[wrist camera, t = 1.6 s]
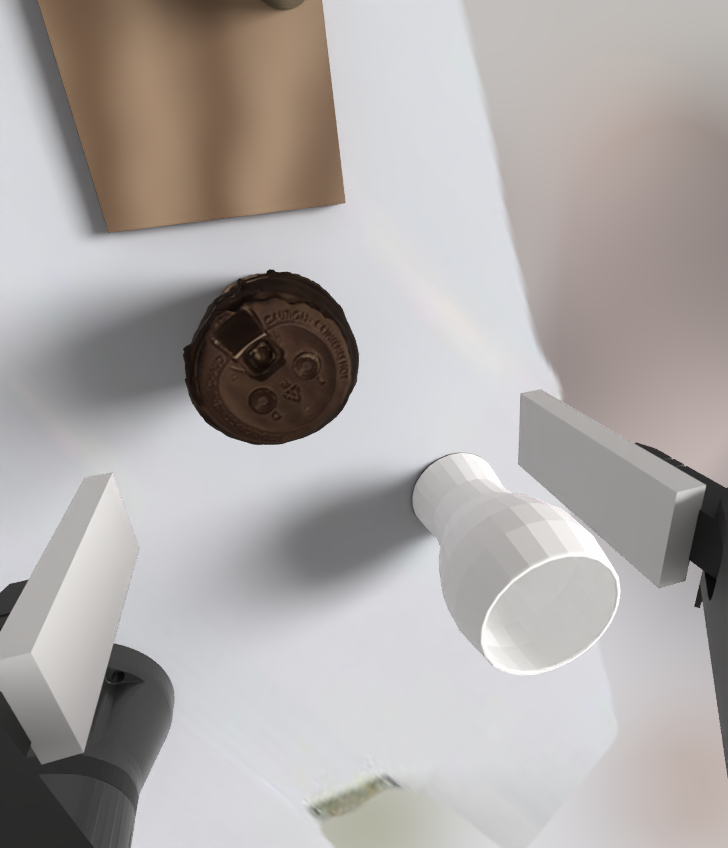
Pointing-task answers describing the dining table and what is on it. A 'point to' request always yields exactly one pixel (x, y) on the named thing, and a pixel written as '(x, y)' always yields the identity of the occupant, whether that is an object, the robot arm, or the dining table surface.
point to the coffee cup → (271, 359)
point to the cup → (514, 568)
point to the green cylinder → (283, 4)
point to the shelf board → (199, 106)
